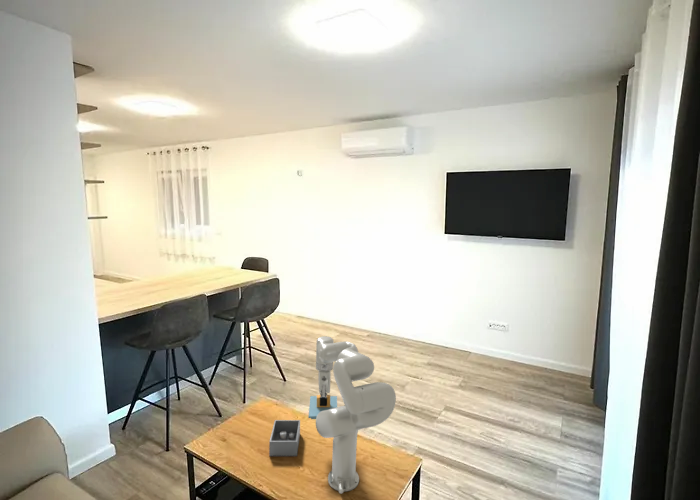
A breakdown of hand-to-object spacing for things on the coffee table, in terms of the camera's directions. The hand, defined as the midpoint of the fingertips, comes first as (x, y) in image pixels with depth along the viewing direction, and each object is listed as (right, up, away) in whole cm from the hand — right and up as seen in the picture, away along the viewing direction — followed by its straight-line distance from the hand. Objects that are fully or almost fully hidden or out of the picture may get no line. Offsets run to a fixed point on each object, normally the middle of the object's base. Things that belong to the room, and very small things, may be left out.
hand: (323, 403), depth 170 cm
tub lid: (0, -3, 0) cm, 3 cm away
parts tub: (-18, -20, +4) cm, 27 cm away
